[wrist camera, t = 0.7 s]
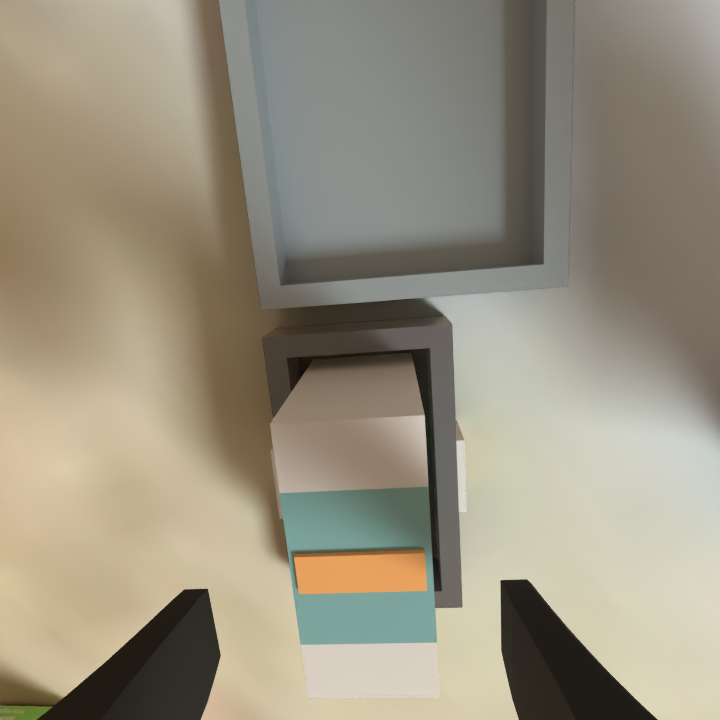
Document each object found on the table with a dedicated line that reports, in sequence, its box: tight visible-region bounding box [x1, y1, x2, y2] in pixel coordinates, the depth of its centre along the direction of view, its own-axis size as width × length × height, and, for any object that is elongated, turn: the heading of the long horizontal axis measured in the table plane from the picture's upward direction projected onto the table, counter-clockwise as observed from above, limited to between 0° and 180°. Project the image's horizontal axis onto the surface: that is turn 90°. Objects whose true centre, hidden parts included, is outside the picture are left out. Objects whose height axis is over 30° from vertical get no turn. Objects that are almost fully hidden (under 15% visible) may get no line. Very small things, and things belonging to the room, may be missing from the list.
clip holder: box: [262, 316, 467, 608], centre depth 18 cm, size 7×12×2 cm, turn 5°
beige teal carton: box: [270, 353, 440, 698], centre depth 16 cm, size 4×9×7 cm, turn 5°
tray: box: [219, 0, 575, 310], centre depth 15 cm, size 11×14×2 cm
